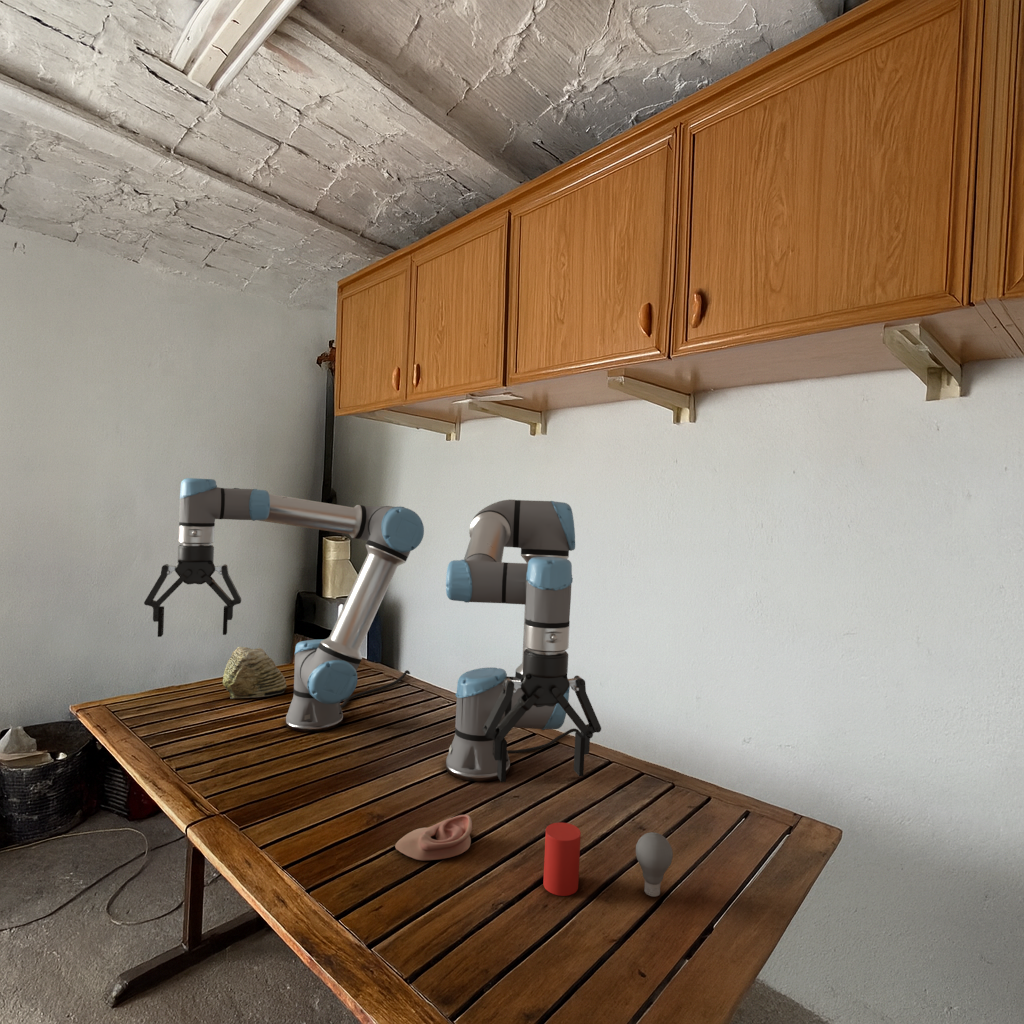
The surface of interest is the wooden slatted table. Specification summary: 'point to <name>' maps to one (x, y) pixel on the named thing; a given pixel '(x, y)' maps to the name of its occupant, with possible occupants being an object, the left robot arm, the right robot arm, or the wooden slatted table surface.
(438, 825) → the anatomical model
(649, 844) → the light bulb
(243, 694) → the fossil
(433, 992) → the wooden slatted table surface
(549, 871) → the canister
